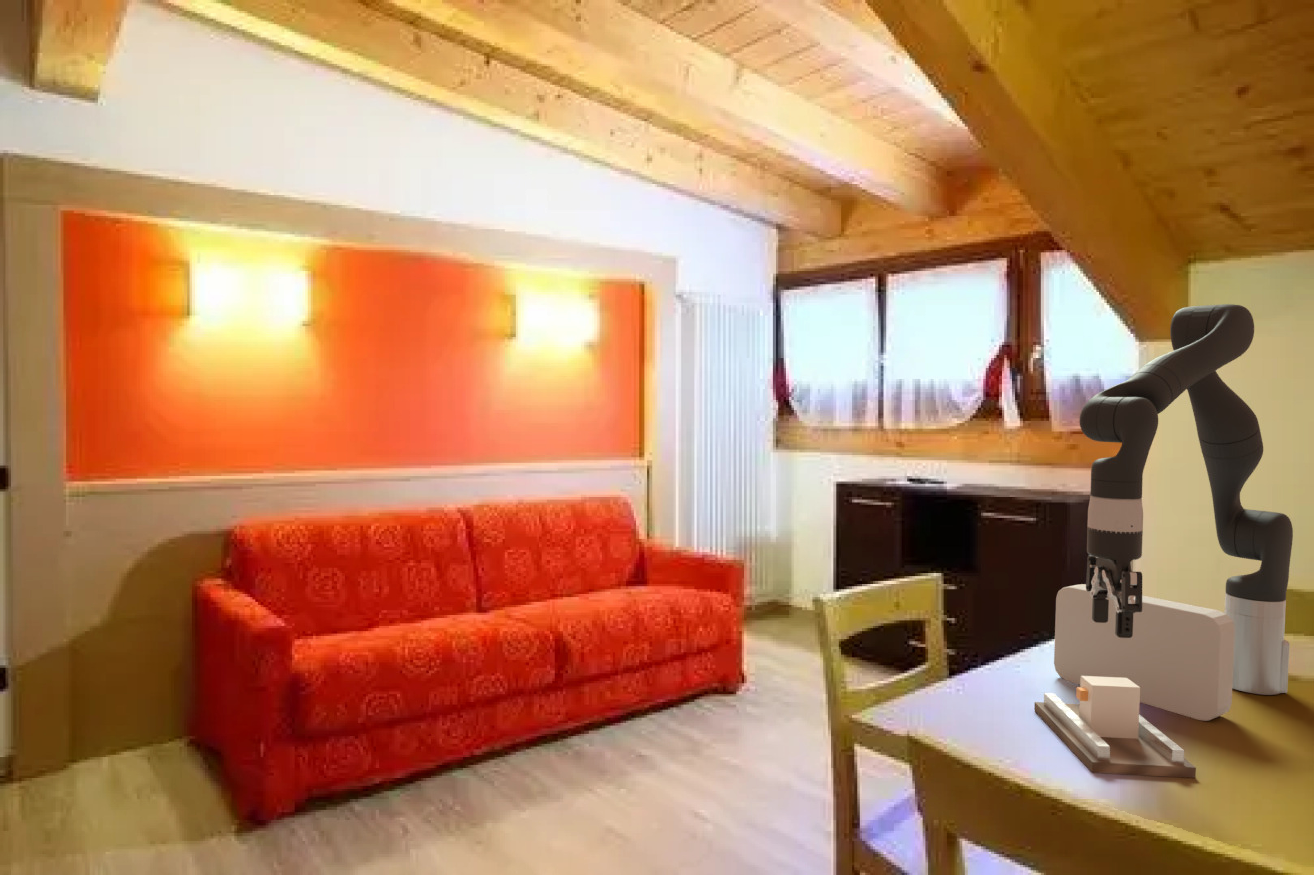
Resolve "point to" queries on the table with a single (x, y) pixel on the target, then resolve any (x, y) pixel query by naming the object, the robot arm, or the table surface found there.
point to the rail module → (1109, 706)
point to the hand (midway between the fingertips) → (1111, 629)
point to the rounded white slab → (1151, 651)
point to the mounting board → (1117, 752)
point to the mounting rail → (1098, 744)
